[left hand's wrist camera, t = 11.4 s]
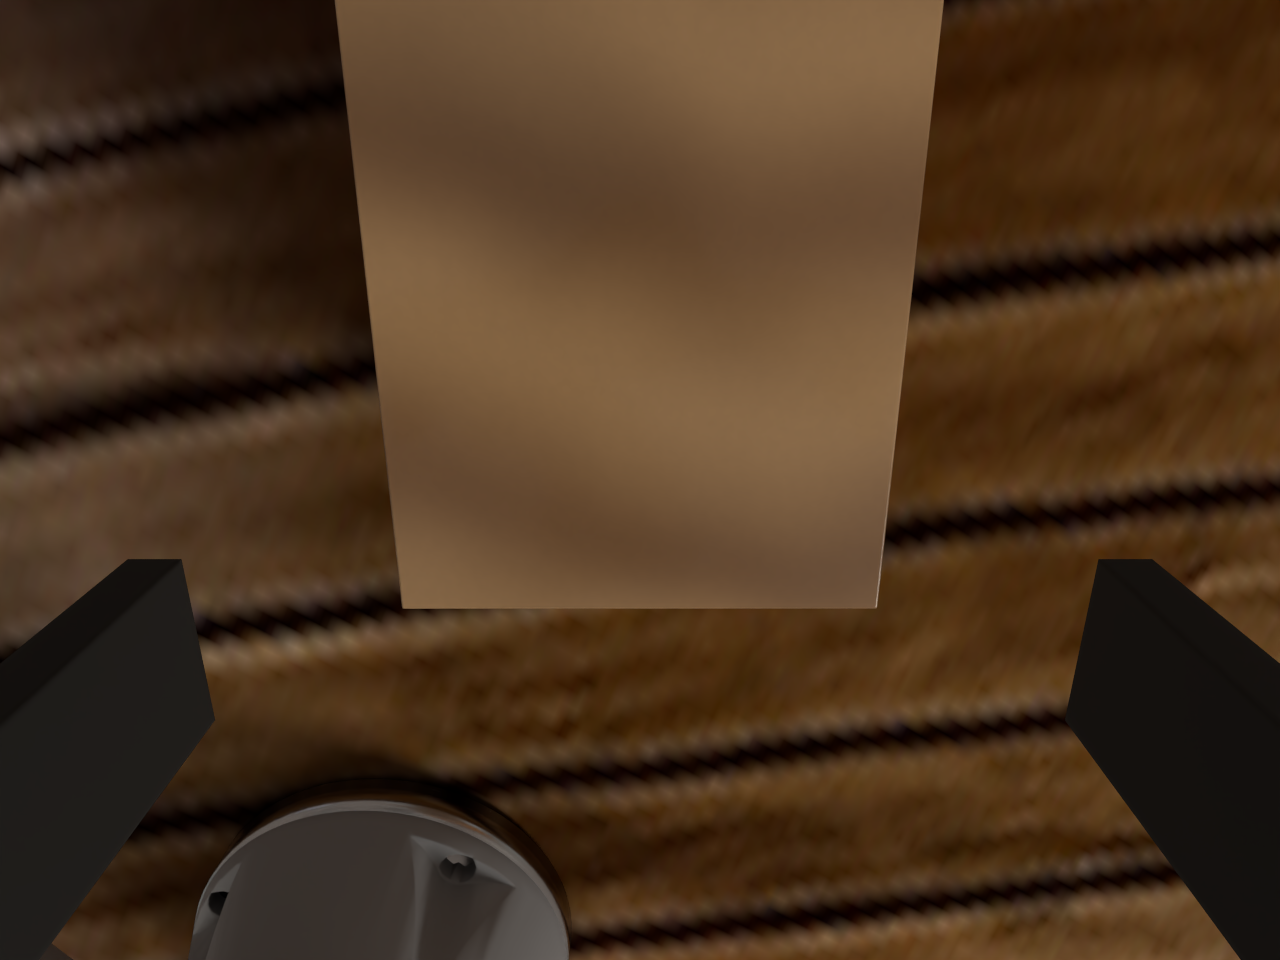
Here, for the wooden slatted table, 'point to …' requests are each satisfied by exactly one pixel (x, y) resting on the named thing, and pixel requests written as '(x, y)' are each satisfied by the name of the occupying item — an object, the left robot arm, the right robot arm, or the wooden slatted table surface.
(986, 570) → the wooden slatted table surface
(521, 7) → the cabinet
